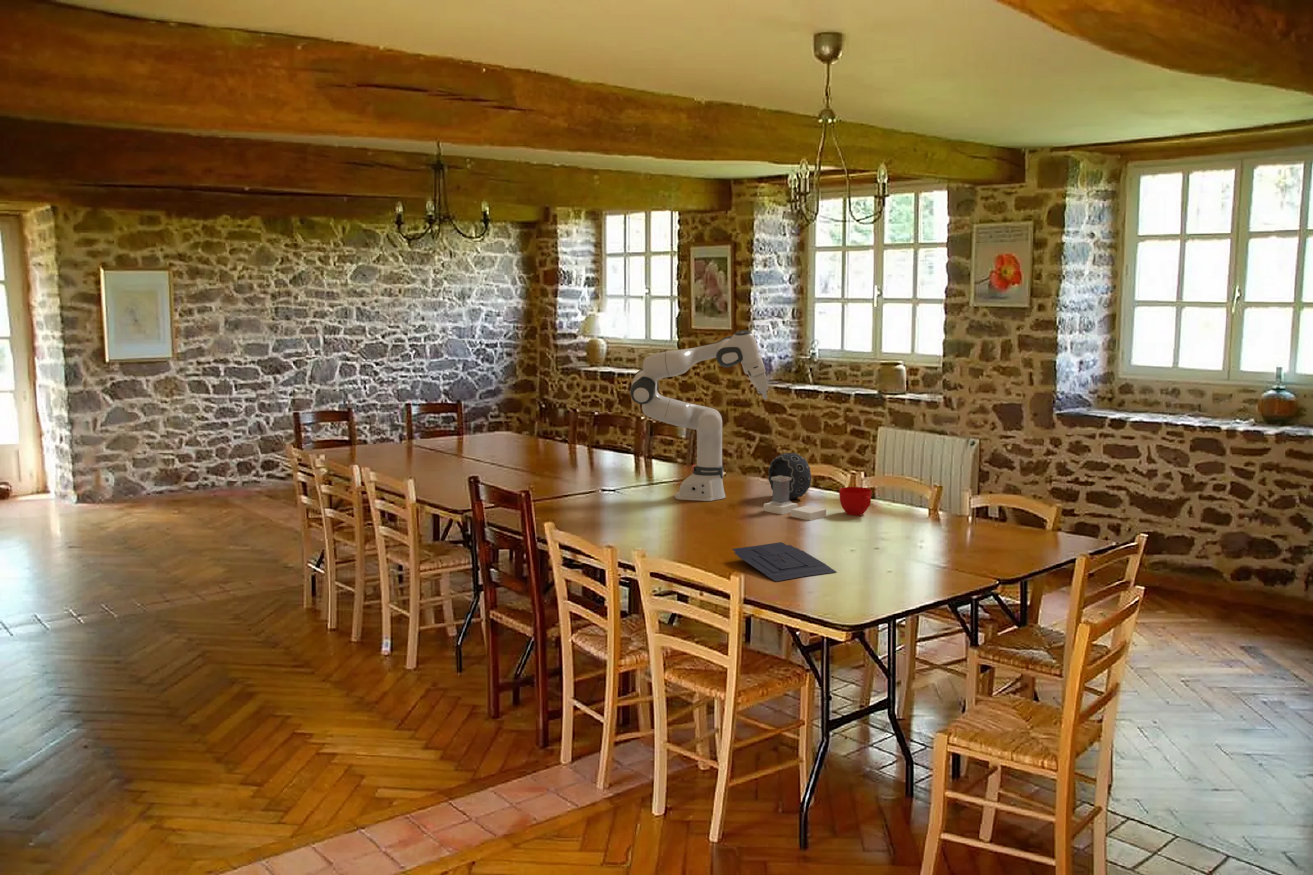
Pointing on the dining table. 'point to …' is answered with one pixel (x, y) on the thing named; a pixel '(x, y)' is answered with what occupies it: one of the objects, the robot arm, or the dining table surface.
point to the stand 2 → (808, 513)
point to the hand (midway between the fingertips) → (763, 396)
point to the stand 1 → (779, 508)
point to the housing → (781, 490)
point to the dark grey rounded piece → (792, 473)
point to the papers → (782, 561)
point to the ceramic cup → (855, 500)
